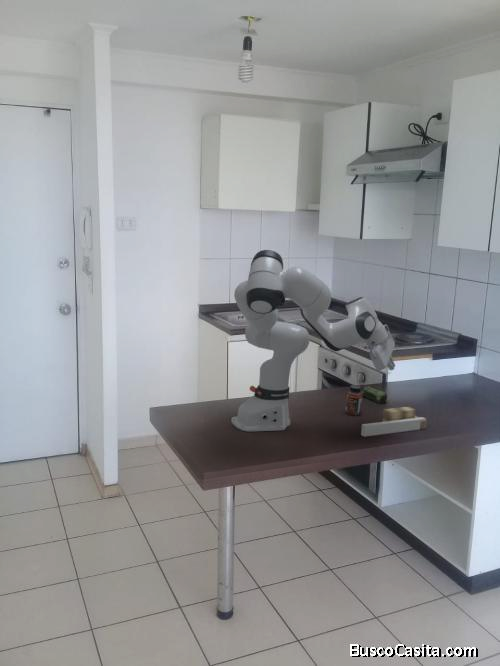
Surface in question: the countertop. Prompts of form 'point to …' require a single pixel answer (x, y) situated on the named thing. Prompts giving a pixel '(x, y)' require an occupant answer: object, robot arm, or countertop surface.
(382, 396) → the vegetable
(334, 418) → the countertop surface
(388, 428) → the board
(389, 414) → the long beige block
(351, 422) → the countertop surface
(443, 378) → the countertop surface
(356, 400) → the supplement bottle
